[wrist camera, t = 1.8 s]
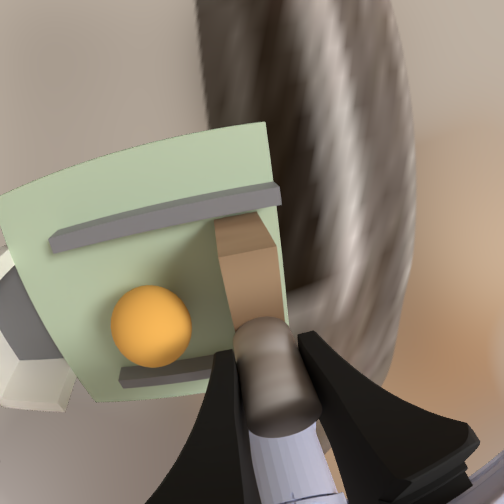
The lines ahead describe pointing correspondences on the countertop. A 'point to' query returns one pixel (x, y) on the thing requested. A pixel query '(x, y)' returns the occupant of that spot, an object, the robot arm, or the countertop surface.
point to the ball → (151, 326)
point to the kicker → (263, 331)
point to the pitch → (124, 263)
